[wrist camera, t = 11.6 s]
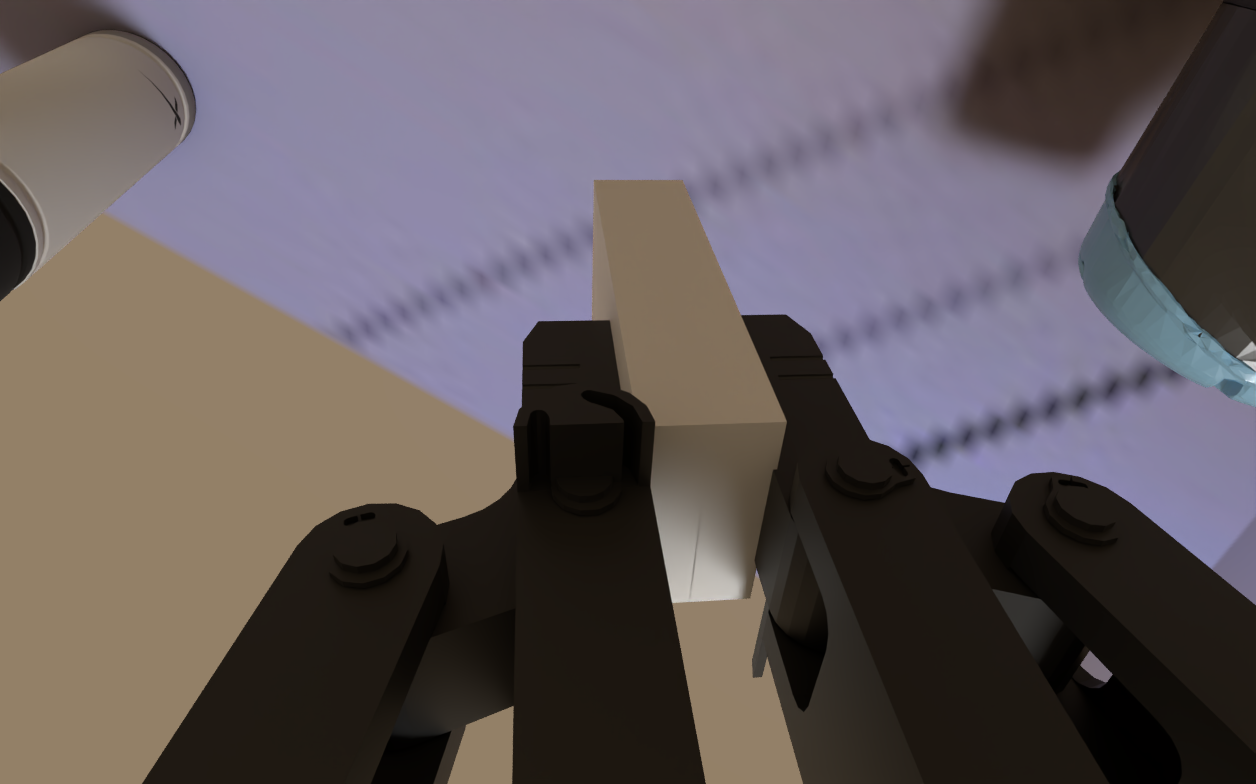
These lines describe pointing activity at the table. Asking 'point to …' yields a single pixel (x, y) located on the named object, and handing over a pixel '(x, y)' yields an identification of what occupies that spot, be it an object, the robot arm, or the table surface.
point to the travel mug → (81, 139)
